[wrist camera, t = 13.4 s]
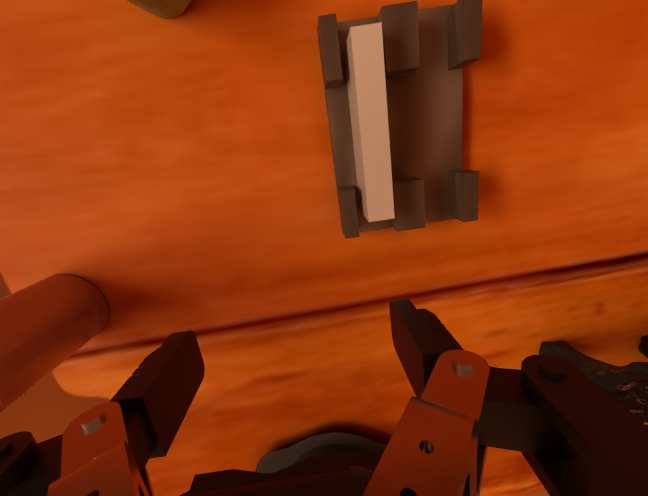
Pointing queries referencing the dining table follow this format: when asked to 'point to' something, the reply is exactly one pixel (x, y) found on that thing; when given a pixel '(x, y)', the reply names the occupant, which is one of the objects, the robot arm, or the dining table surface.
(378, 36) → the clay strip
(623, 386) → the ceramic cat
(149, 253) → the dining table surface
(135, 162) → the dining table surface
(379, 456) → the casserole
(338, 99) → the dark grey holder
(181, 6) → the plant pot
